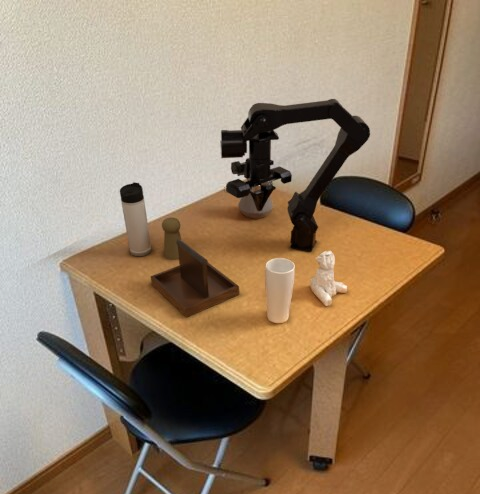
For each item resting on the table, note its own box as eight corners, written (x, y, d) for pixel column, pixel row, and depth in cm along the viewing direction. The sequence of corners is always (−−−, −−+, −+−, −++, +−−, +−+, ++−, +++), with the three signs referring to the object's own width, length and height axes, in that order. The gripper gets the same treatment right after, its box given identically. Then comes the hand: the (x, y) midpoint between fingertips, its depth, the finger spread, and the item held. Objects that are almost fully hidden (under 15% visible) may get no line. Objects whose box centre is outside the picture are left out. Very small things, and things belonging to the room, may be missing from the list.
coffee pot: (251, 203, 171) (251, 160, 162) (279, 211, 166) (281, 167, 157) (213, 227, 158) (210, 182, 149) (242, 237, 153) (241, 191, 143)
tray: (201, 265, 140) (199, 226, 133) (239, 294, 129) (238, 253, 121) (151, 284, 133) (145, 244, 125) (186, 317, 121) (182, 275, 114)
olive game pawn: (181, 260, 143) (177, 225, 136) (161, 258, 144) (156, 223, 137) (187, 249, 147) (184, 215, 140) (167, 247, 148) (163, 214, 141)
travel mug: (155, 247, 149) (146, 183, 136) (145, 258, 144) (135, 193, 131) (137, 244, 150) (126, 180, 138) (126, 254, 145) (114, 190, 133)
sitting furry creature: (327, 308, 124) (332, 267, 116) (299, 294, 128) (302, 254, 121) (348, 291, 129) (354, 251, 122) (321, 279, 134) (325, 240, 126)
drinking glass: (262, 310, 123) (263, 258, 114) (289, 308, 124) (292, 256, 114) (265, 327, 118) (267, 274, 109) (294, 325, 118) (297, 272, 109)
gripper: (268, 140, 140) (267, 192, 149) (213, 155, 131) (215, 209, 141) (294, 151, 133) (291, 205, 142) (238, 167, 124) (238, 224, 134)
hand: (259, 210), depth 140 cm, fingers closed
